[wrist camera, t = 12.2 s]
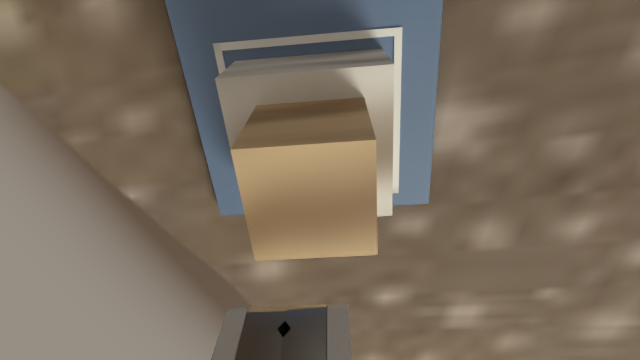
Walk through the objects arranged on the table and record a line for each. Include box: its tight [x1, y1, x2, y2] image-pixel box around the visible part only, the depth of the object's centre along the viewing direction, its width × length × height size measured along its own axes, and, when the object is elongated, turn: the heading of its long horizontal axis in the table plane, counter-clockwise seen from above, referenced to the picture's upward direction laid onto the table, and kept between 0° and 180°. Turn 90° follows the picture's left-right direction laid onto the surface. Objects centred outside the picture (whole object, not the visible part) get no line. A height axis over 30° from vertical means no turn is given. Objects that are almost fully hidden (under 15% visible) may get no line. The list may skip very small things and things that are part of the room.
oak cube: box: [230, 97, 377, 261], centre depth 16 cm, size 5×5×5 cm
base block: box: [215, 49, 394, 216], centre depth 20 cm, size 8×8×4 cm
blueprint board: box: [165, 0, 443, 215], centre depth 19 cm, size 22×14×1 cm, turn 5°
